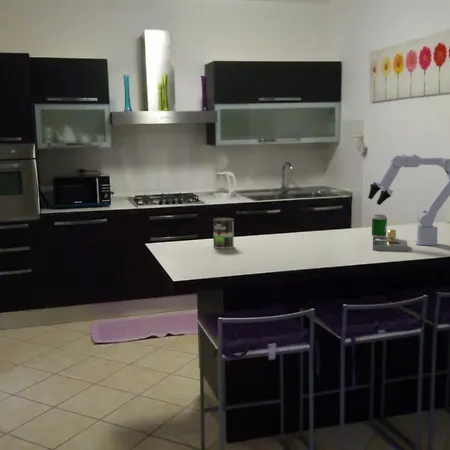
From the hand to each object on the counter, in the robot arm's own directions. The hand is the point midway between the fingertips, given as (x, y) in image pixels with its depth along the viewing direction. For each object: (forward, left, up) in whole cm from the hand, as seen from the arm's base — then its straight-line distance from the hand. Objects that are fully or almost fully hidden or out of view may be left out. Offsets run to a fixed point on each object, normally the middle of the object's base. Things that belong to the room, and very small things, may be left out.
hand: (373, 201), depth 282 cm
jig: (-8, +12, -21) cm, 26 cm away
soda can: (-3, -15, -21) cm, 26 cm away
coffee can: (+72, +24, -21) cm, 79 cm away
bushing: (-9, +1, -21) cm, 23 cm away
